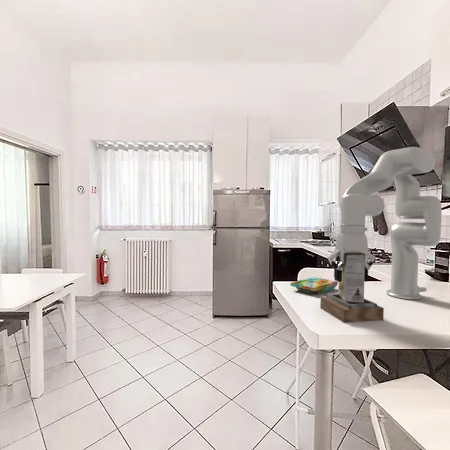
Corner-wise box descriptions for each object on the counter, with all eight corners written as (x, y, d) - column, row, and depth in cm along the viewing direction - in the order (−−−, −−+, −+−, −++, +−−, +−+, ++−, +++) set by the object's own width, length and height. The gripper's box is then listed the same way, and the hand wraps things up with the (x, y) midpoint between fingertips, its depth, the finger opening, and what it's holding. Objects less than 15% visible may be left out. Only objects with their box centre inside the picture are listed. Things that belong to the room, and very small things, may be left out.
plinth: (355, 306, 102) (355, 292, 102) (383, 320, 89) (383, 304, 88) (320, 308, 100) (320, 293, 100) (343, 322, 86) (344, 305, 86)
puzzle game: (337, 279, 128) (313, 285, 115) (337, 289, 128) (313, 297, 115) (315, 275, 137) (290, 280, 124) (314, 285, 137) (290, 291, 124)
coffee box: (337, 294, 99) (338, 249, 99) (356, 295, 98) (357, 250, 98) (344, 301, 90) (345, 252, 90) (365, 303, 89) (366, 253, 89)
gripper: (367, 230, 99) (366, 278, 99) (323, 229, 96) (321, 279, 96) (383, 231, 91) (381, 282, 92) (335, 230, 88) (334, 284, 89)
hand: (350, 280), depth 94 cm, fingers open, 9 cm apart
